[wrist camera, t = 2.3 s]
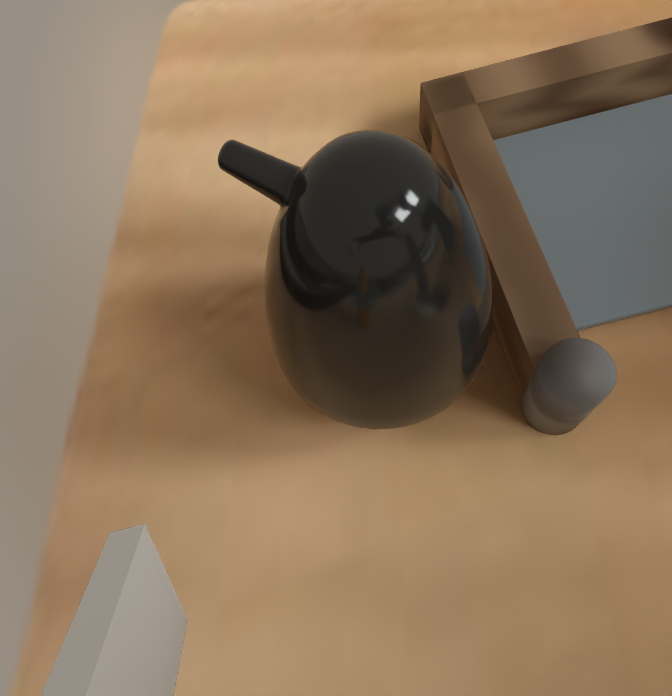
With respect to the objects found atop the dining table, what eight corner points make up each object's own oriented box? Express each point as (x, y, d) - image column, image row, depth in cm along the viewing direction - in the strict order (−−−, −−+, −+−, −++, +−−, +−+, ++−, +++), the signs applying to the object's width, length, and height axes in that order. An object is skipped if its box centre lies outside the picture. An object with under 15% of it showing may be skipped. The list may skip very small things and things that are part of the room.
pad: (690, 93, 36) (693, 88, 35) (806, 271, 31) (811, 268, 30) (483, 147, 36) (484, 142, 36) (564, 333, 31) (566, 330, 30)
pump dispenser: (326, 250, 34) (272, 14, 20) (503, 300, 32) (578, 71, 18) (255, 408, 31) (132, 256, 17) (445, 477, 29) (483, 366, 15)
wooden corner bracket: (687, 54, 37) (727, -23, 32) (888, 351, 29) (980, 304, 24) (414, 125, 37) (415, 59, 33) (533, 441, 29) (557, 412, 24)
